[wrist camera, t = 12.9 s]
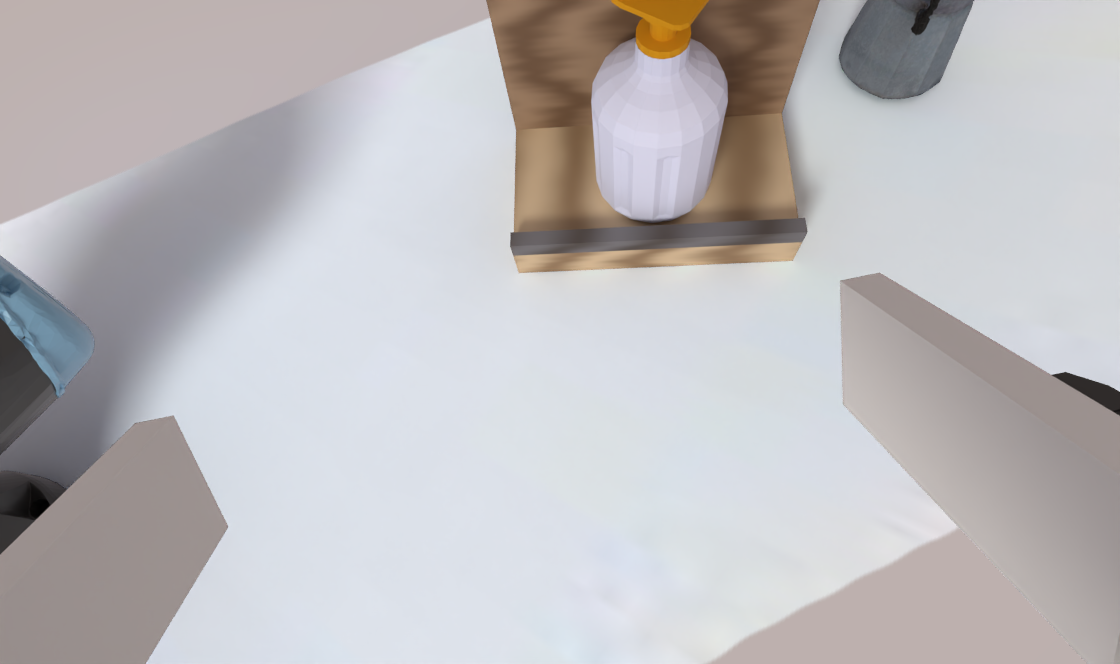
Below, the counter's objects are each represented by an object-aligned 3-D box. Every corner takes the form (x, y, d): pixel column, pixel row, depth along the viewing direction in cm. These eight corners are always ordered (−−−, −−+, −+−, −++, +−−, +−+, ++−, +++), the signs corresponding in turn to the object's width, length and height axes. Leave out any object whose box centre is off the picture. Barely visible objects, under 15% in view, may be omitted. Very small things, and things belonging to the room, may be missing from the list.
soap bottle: (673, 244, 50) (715, -39, 28) (575, 192, 53) (538, -107, 30) (731, 160, 53) (813, -166, 30) (634, 114, 55) (641, -219, 32)
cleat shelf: (518, 272, 54) (409, -62, 26) (521, 137, 59) (431, -265, 31) (792, 260, 52) (986, -112, 25) (771, 122, 57) (913, -318, 29)
